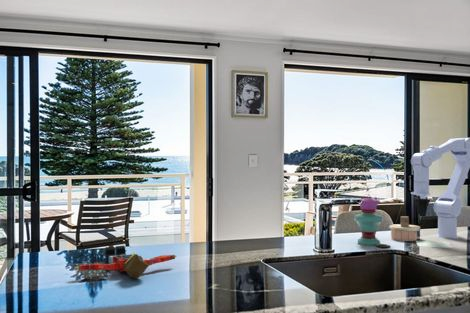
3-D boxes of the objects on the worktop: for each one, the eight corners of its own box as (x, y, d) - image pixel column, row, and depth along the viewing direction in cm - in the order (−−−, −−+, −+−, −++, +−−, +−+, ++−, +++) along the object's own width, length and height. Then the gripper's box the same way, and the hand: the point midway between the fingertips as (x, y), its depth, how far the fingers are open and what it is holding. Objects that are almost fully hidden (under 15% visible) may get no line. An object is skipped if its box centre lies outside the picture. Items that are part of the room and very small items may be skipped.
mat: (415, 241, 183) (415, 240, 183) (447, 243, 180) (447, 241, 180) (418, 247, 172) (418, 246, 172) (452, 249, 168) (452, 247, 168)
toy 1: (67, 275, 145) (82, 289, 119) (66, 251, 146) (81, 259, 120) (159, 264, 160) (191, 274, 133) (158, 242, 160) (190, 248, 134)
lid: (388, 226, 196) (388, 214, 196) (418, 227, 192) (418, 215, 192) (390, 230, 184) (389, 218, 184) (421, 231, 181) (421, 219, 181)
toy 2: (386, 242, 182) (385, 198, 182) (378, 247, 172) (378, 200, 173) (359, 240, 187) (359, 196, 187) (351, 244, 178) (350, 199, 178)
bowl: (390, 237, 195) (390, 226, 195) (415, 238, 192) (415, 227, 192) (391, 241, 185) (391, 230, 185) (418, 242, 182) (418, 231, 182)
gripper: (409, 181, 194) (409, 212, 194) (412, 182, 181) (412, 216, 180) (427, 181, 192) (427, 213, 192) (431, 183, 179) (431, 217, 178)
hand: (421, 215), depth 186 cm, fingers open, 7 cm apart
